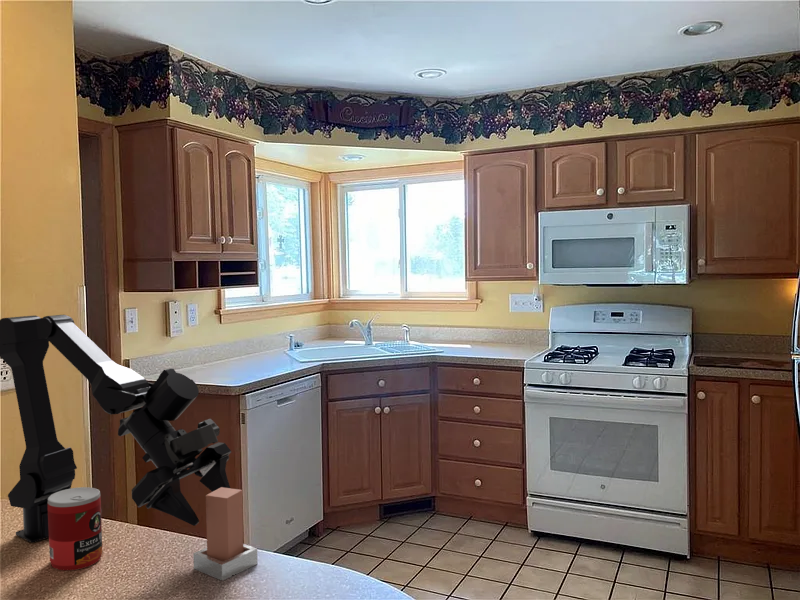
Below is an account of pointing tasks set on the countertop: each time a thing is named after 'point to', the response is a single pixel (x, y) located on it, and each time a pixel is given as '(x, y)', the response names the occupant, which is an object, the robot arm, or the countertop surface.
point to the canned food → (74, 528)
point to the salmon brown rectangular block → (224, 523)
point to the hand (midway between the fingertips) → (215, 513)
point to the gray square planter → (225, 563)
